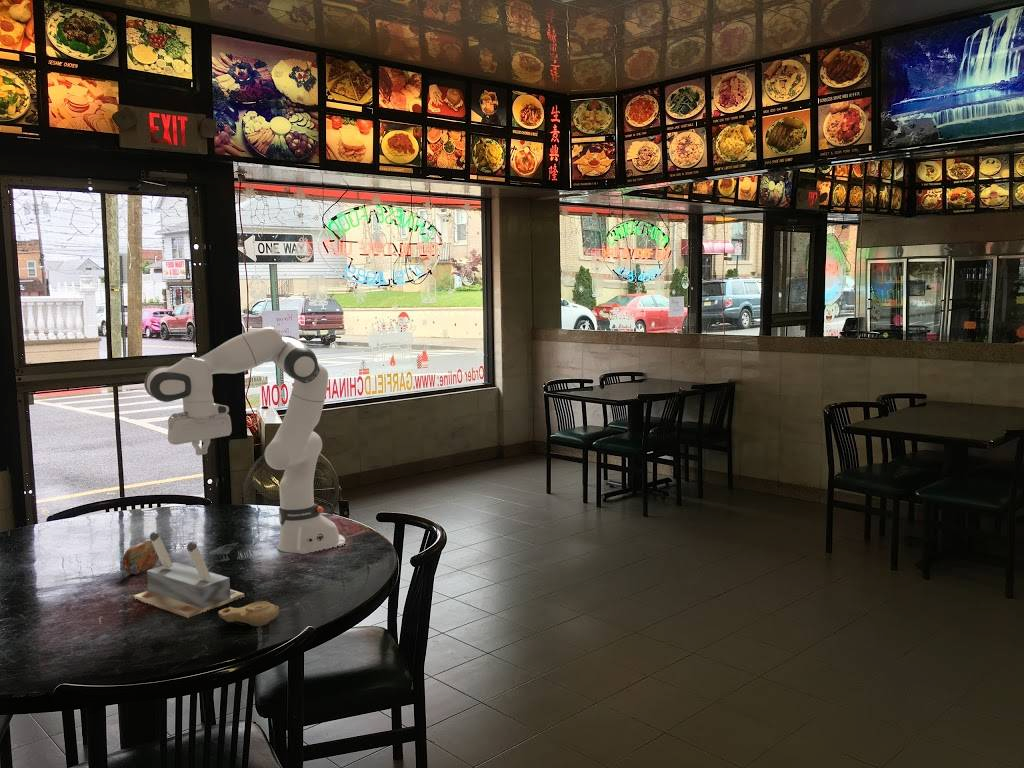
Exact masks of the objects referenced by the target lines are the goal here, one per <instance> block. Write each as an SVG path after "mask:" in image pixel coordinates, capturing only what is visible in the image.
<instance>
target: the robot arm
mask: <svg viewBox="0 0 1024 768" xmlns="http://www.w3.org/2000/svg"><path fill="white" fill-rule="evenodd" d="M269 362H273V363H275V365H277V367H278V368H279V370H281V371H282V372H284V373H285V374H287V375H288V376H289V377H290V378H292V379H294V380H293V385H292V389H291V393H290V397H289V400H288V405H287V409H286V412H285V415H284V418H282V420H281V421H282V422H281V424H280V426H279V427H278V428H277V431H276V433H275V435H274V437H273V438H272V440H271V441H270V442H269V444H268V445H267V446H266V448H265V450H264V459H265V462H266V464H267V466H269V467H270V468H271V469H274V470H276V471H277V470H278V471H284V473H283V475H282V477H281V479H280V483H279V486H278V487H279V503H280V506H279V507H278V517H279V518H278V520H279V521H278V522H279V524H280V532H279V539H278V545H277V550H278V551H280V552H285V553H295V554H302V555H306V554H310V552H311V553H315V551H316V552H319V550H320V551H324V550H323V549H325V550H330V549H333V548H332V547H334V548H338V547H337V546H339V547H342V545H343V546H344V544H345V545H346V543H345V542H346V538H345V537H344V536H343V535H342V534H339V530H338V527H337V526H336V524H335V522H334V521H332V520H330V519H329V518H327V517H326V516H324V515H322V513H324V508H323V507H322V505H321V506H320V505H318V504H317V503H315V501H314V500H315V499H314V480H315V471H316V467H317V462H318V458H319V456H320V453H321V451H322V449H323V441H322V438H321V436H320V435H319V434H318V433H317V432H315V431H314V429H315V428H316V427H317V425H318V424H319V422H320V419H321V415H322V411H323V408H324V404H325V399H326V397H327V391H328V385H329V373H328V371H327V368H325V366H322V365H321V364H319V362H318V358H317V356H316V354H315V353H314V351H313V350H312V349H310V348H309V346H307V345H306V343H304V342H302V341H300V340H299V339H298V338H296V337H294V336H292V335H282V334H281V333H280V332H279V331H278V330H277V329H276V328H275V327H272V326H264V327H260V328H255V329H253V330H249V331H246V332H244V333H241V334H239V335H236V336H235V337H232V338H230V339H228V340H227V341H225V342H223V343H222V344H220V345H219V346H217V347H216V348H213V349H212V350H210V351H209V352H207V353H205V354H203V355H201V356H199V357H192V356H186V357H183V358H182V359H181V360H180V361H178V362H176V363H174V364H173V365H171V366H158V367H154V368H152V369H151V370H150V371H148V372H147V374H146V375H145V377H144V381H143V386H144V389H145V391H146V393H147V394H148V395H149V396H151V397H152V398H154V399H156V400H157V401H159V402H162V403H163V402H164V403H171V402H173V401H174V402H175V401H178V400H182V405H183V406H182V407H183V408H182V409H183V411H182V412H178V413H176V412H175V413H173V414H171V415H170V416H169V418H167V423H168V427H167V428H168V429H167V441H168V443H169V444H170V445H173V446H174V445H175V446H178V445H183V444H189V443H191V445H192V447H193V448H194V450H195V455H196V456H202V455H207V454H208V448H209V447H210V445H211V439H217V438H222V437H227V436H230V435H231V434H232V427H233V426H232V419H231V416H230V414H229V412H230V408H229V406H228V405H223V404H219V403H218V402H217V403H216V402H215V401H214V400H215V399H214V396H213V386H214V384H213V383H214V382H213V375H215V374H238V373H243V372H246V371H249V370H251V369H254V368H257V367H259V366H261V365H263V364H264V363H269ZM200 441H201V442H200ZM200 443H203V444H202V446H199V445H200ZM329 548H330V549H329Z"/></svg>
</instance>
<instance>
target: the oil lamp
mask: <svg viewBox="0 0 1024 768" xmlns="http://www.w3.org/2000/svg"><path fill="white" fill-rule="evenodd" d="M217 613H218V614H217V615H218V616H219V618H221V619H222V620H224V621H226V622H228V623H233V622H237V623H239V622H240V623H243V624H248V625H250V626H251V627H262V626H266V625H268V624H269V623H270V622H271V621H272V620H274V619H276V617H278V616H279V613H280V607H279V606H278V605H275V604H274V603H270V602H268V601H266V600H263V601H254V602H252V603H249V604H247V605H244V606H242V607H232V606H229V607H225V608H223V609H220V610H218V611H217Z"/></svg>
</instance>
